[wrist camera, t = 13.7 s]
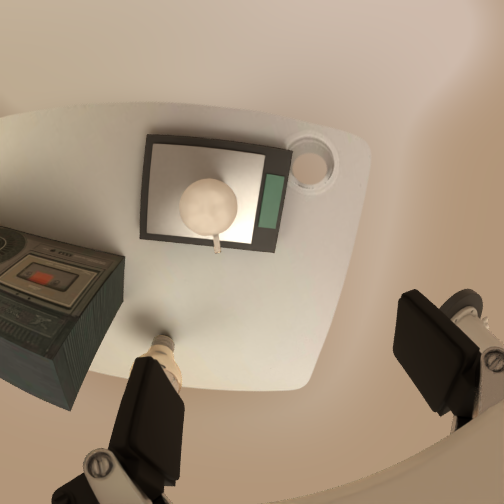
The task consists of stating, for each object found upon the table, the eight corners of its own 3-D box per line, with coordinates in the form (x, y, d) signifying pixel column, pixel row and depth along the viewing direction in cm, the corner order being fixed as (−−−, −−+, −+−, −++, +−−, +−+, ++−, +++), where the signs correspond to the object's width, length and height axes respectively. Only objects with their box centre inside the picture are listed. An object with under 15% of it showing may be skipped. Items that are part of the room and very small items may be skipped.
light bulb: (179, 360, 40) (171, 420, 29) (138, 345, 38) (120, 402, 27) (193, 330, 38) (187, 393, 27) (149, 313, 36) (128, 372, 25)
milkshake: (198, 224, 29) (188, 260, 20) (186, 177, 27) (167, 191, 18) (239, 214, 29) (247, 245, 20) (228, 166, 27) (231, 174, 18)
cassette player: (125, 256, 33) (52, 360, 14) (123, 301, 35) (70, 411, 17) (-15, 221, 27) (-93, 269, 9) (-11, 259, 30) (-80, 316, 11)
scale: (287, 150, 30) (294, 151, 27) (271, 245, 34) (275, 254, 32) (152, 135, 28) (145, 133, 25) (144, 232, 32) (138, 240, 29)
